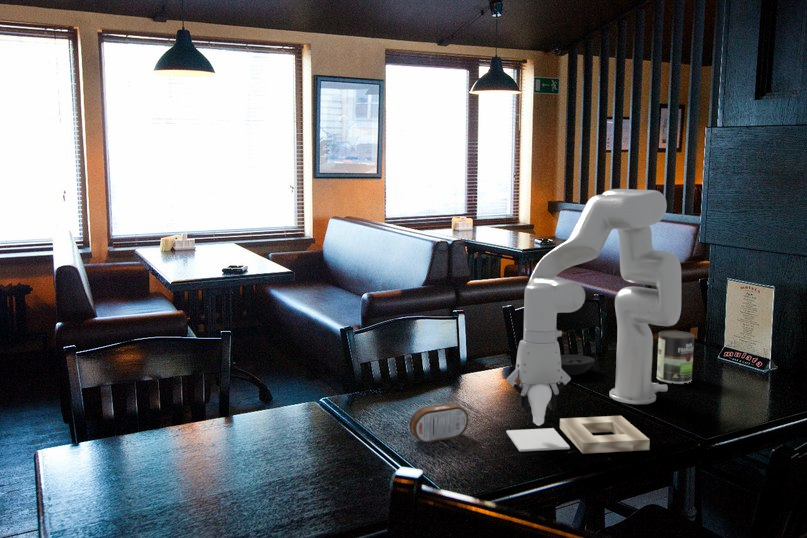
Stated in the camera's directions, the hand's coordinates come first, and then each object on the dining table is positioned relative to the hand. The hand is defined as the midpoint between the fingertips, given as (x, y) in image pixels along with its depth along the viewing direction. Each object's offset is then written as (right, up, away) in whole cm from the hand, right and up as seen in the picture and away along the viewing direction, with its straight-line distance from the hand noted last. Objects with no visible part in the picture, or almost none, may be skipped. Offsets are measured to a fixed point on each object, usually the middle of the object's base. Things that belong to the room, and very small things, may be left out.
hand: (537, 409), depth 175 cm
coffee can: (+51, 0, +49) cm, 71 cm away
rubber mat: (0, -8, +1) cm, 8 cm away
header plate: (+16, -7, +2) cm, 18 cm away
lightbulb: (0, -4, +1) cm, 4 cm away
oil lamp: (+19, 0, +55) cm, 58 cm away
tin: (-23, -8, +2) cm, 25 cm away
